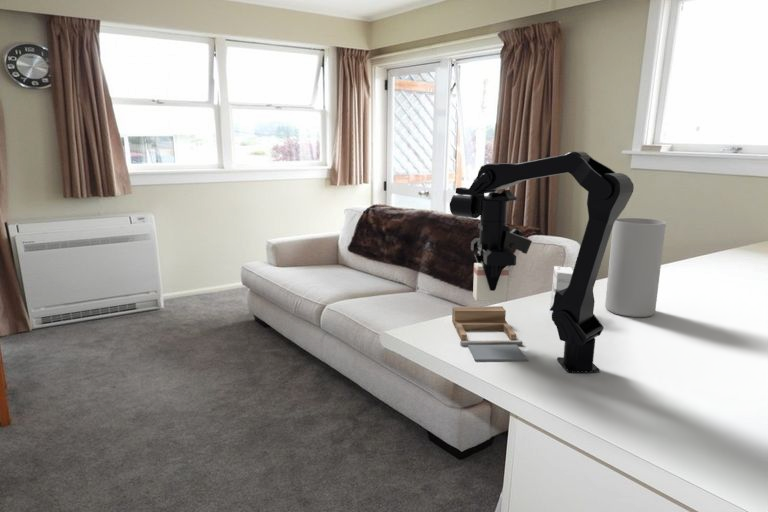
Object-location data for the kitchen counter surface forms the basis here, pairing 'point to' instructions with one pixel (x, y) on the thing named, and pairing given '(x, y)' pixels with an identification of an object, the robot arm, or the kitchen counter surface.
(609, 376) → the kitchen counter surface
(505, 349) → the mat
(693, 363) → the kitchen counter surface
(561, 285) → the ink box
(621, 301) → the cylinder vase
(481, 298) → the block
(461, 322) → the cradle
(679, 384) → the kitchen counter surface
